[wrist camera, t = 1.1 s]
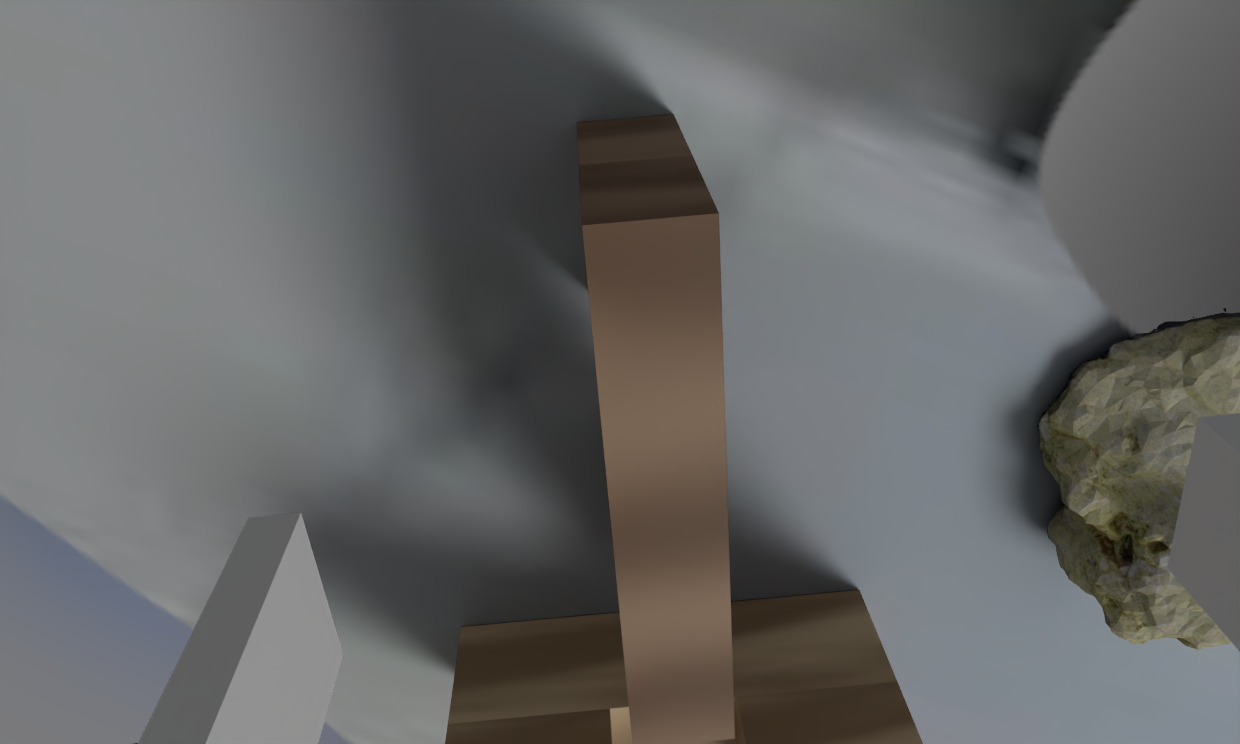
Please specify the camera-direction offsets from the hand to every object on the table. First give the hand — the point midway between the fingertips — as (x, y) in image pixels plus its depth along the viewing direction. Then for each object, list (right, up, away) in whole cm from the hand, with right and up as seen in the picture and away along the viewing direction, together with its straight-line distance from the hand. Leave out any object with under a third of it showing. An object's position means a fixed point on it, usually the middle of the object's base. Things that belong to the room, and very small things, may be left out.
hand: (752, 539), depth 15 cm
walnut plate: (-1, +3, +19) cm, 19 cm away
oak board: (0, -8, +25) cm, 26 cm away
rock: (+18, 0, +22) cm, 29 cm away
